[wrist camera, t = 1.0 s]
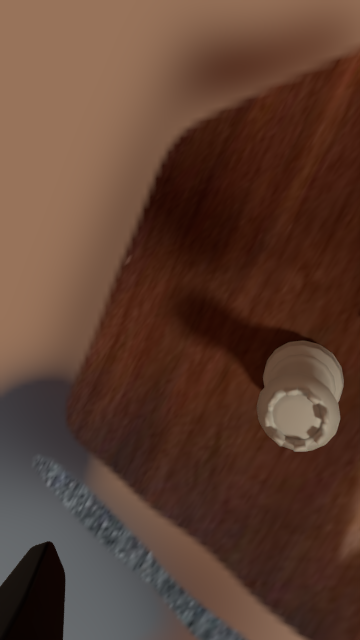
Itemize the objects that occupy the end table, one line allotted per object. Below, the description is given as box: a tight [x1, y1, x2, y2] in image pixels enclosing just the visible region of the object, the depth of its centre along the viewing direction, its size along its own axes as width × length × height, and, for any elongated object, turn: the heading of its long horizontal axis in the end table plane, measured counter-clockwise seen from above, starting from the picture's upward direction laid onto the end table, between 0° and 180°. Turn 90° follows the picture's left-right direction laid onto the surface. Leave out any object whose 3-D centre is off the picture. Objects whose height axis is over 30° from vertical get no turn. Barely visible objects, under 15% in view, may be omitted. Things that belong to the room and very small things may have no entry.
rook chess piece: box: [257, 340, 344, 452], centre depth 17 cm, size 4×4×8 cm
